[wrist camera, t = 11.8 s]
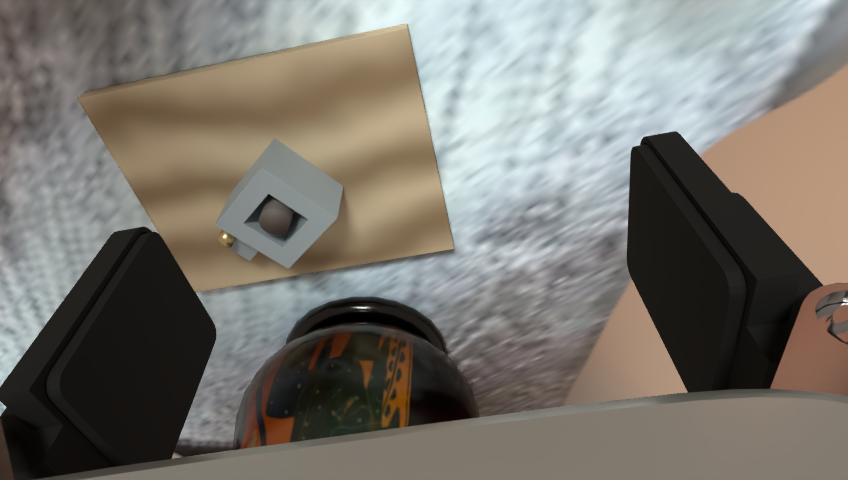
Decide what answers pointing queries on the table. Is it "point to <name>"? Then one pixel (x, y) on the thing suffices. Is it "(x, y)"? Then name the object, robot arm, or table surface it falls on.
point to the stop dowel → (225, 240)
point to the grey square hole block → (292, 186)
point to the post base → (297, 129)
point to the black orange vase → (353, 377)
